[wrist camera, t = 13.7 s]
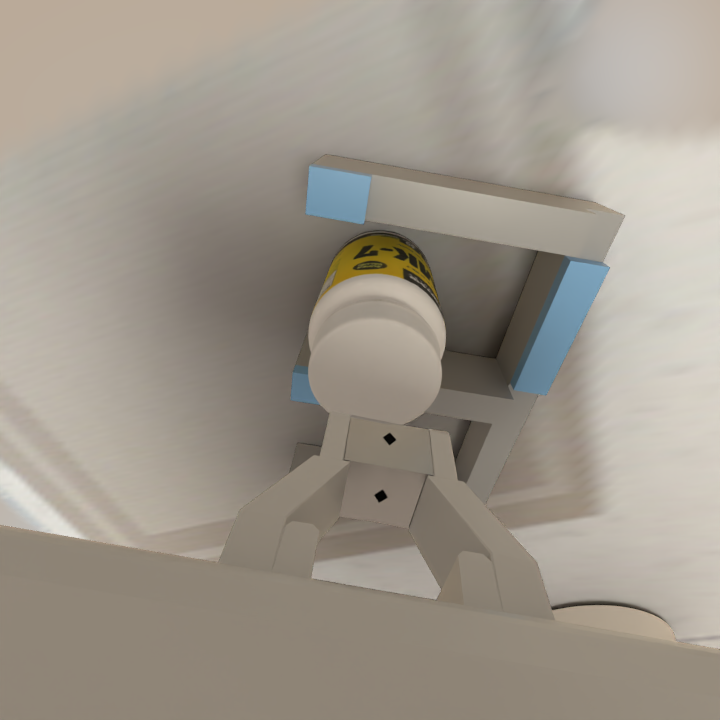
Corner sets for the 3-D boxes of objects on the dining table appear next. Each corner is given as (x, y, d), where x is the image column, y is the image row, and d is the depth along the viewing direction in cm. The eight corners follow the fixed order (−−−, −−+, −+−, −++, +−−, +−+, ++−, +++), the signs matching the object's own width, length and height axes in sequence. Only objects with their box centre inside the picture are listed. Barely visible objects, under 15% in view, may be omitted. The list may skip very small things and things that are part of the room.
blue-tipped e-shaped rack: (469, 486, 26) (482, 545, 22) (295, 460, 26) (281, 515, 22) (595, 202, 17) (649, 226, 13) (325, 154, 16) (309, 165, 13)
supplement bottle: (449, 254, 18) (490, 346, 11) (403, 338, 21) (412, 459, 13) (351, 210, 17) (327, 278, 10) (314, 302, 20) (275, 410, 13)
